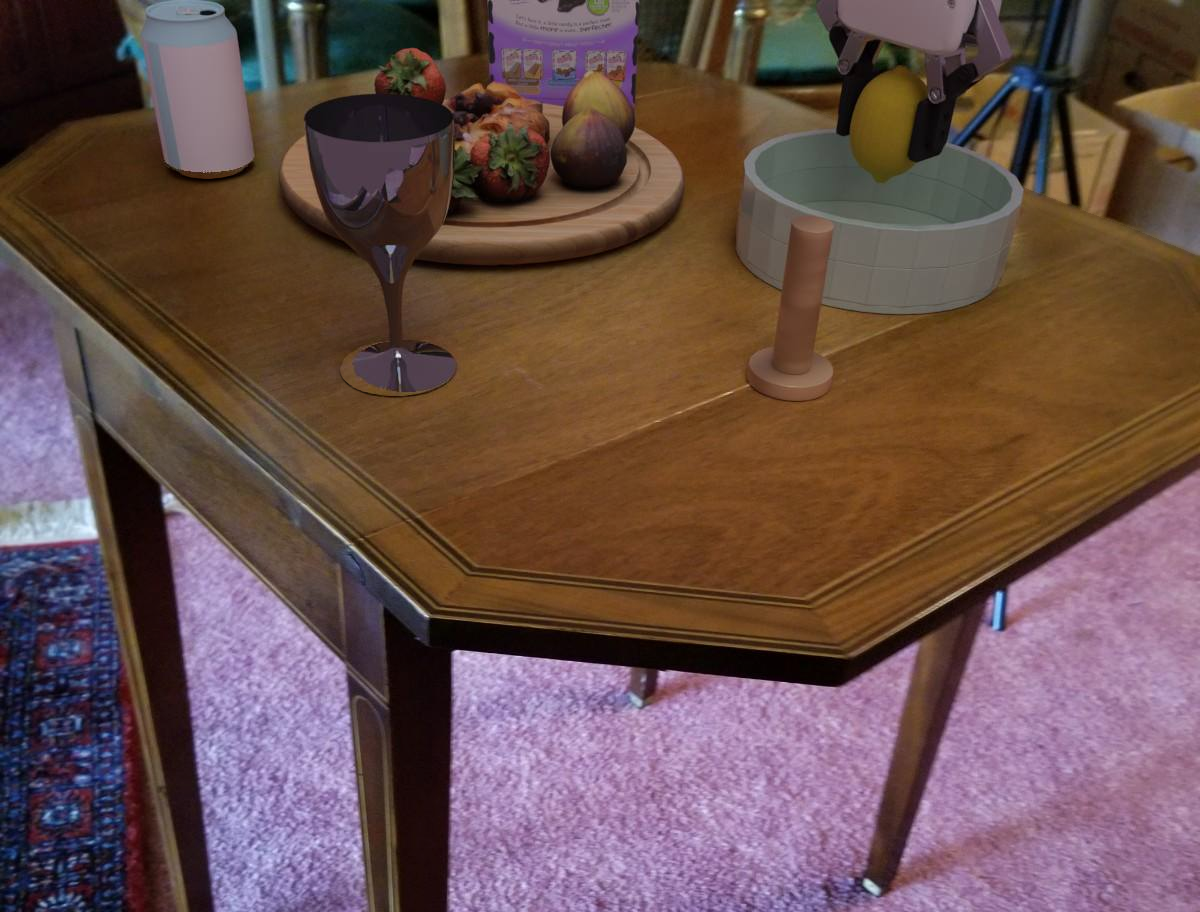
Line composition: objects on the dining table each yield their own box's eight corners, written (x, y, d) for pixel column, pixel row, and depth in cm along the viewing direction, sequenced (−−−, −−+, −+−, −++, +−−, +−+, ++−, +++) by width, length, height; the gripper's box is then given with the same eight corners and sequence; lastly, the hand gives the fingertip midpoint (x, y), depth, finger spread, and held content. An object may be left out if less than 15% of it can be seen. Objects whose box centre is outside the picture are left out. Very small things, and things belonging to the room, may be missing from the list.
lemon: (838, 192, 85) (858, 72, 80) (844, 165, 89) (864, 50, 84) (918, 202, 84) (943, 82, 79) (920, 174, 88) (945, 58, 83)
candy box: (632, 92, 118) (642, -100, 107) (635, 111, 113) (645, -87, 103) (491, 87, 117) (487, -106, 107) (487, 106, 113) (483, -93, 102)
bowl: (1054, 265, 89) (1077, 185, 86) (891, 342, 79) (909, 254, 75) (848, 186, 100) (860, 112, 97) (681, 244, 90) (687, 163, 86)
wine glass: (444, 329, 78) (432, 88, 69) (479, 388, 72) (472, 134, 63) (321, 346, 76) (291, 99, 66) (347, 409, 70) (319, 148, 60)
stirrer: (848, 383, 75) (878, 227, 68) (792, 410, 72) (818, 249, 65) (785, 351, 77) (808, 199, 71) (729, 376, 75) (747, 219, 68)
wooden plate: (260, 137, 104) (246, 35, 99) (609, 113, 113) (613, 17, 107) (311, 295, 81) (296, 173, 76) (746, 250, 89) (759, 137, 84)
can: (217, 146, 102) (192, -9, 95) (273, 166, 99) (252, 8, 91) (148, 168, 98) (115, 7, 90) (204, 190, 95) (175, 26, 87)
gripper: (1104, -141, 70) (1023, 169, 82) (871, -180, 80) (828, 102, 91) (1032, -131, 66) (958, 194, 78) (796, -173, 76) (761, 121, 87)
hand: (888, 141), depth 84 cm, fingers closed on lemon, 5 cm apart
